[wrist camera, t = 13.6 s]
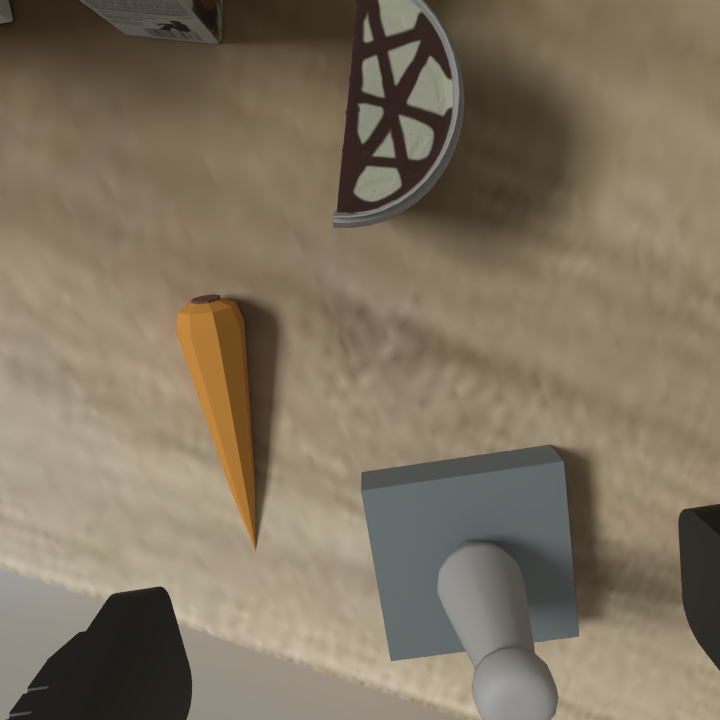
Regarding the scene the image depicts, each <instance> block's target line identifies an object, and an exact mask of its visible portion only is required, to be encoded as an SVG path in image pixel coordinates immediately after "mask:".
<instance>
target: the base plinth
mask: <svg viewBox="0 0 720 720" xmlns="http://www.w3.org/2000/svg"><path fill="white" fill-rule="evenodd" d="M361 492H362V498H363V503H364V509H365V515H366V521H367V526H368V532H369V538H370V544H371V549H372V555H373V561H374V567H375V572H376V578H377V584H378V589H379V595H380V601H381V607H382V612H383V618H384V624H385V630H386V635H387V641H388V647H389V653H390V658H391V661H395V660H403V659H411V658H418V657H426V656H434V655H441V654H449V653H456V652H464V651H465V649H464V647H463V645H462V643H461V641H460V639H459V637H458V635H457V633H456V631H455V629H454V627H453V625H452V623H451V621H450V619H449V617H448V615H447V613H446V611H445V609H444V608H443V605H442V602H441V600H440V597H439V594H438V592H437V587H438V577H439V569H440V568H441V566H442V564H443V562H444V560H445V559H446V557H447V556H448V555H449V554H450V553H451V552H452V551H453V550H454V549H455V548H457V547H458V546H459V545H460V544H461V543H462V542H463V541H464V540H470V541H483V542H491V543H493V544H495V545H496V546H498V547H500V548H502V549H503V550H504V551H505V552H506V553H507V554H509V555H510V556H511V557H512V558H513V559H514V560H515V561H516V562H517V564H518V566H519V569H520V571H521V574H522V577H523V579H524V584H525V591H526V597H527V604H528V610H529V617H530V624H531V630H532V637H533V642H540V641H548V640H556V639H563V638H571V637H578V636H579V629H578V617H577V606H576V594H575V583H574V571H573V560H572V548H571V537H570V525H569V514H568V502H567V491H566V479H565V468H564V461H563V460H562V458H561V457H560V456H559V455H558V453H557V452H556V451H555V450H554V448H553V447H552V446H551V445H546V446H539V447H533V448H526V449H519V450H512V451H505V452H498V453H491V454H485V455H478V456H471V457H464V458H457V459H450V460H443V461H437V462H430V463H423V464H416V465H409V466H402V467H396V468H389V469H382V470H375V471H368V472H362V474H361Z"/></svg>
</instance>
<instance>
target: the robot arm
mask: <svg viewBox="0 0 720 720" xmlns="http://www.w3.org/2000/svg"><path fill="white" fill-rule="evenodd" d="M679 545H680V563H681V581H682V598H683V605H684V610H685V614H686V617H687V620H688V623H689V625H690V628H691V630H692V632H693V634H694V636H695V638H696V640H697V641H698V643H699V644H700V646H701V647H702V648H703V650H704V651H705V652H706V654H707V655H708V656H709V657H710V659H711V660H712V661H713V663H714V664H715V665H716V666H717V668H718V669H719V670H720V504H716V505H710V506H703V507H696V508H690V509H684V510H683V511H682V512H681V513H680V516H679ZM191 697H192V677H191V671H190V666H189V662H188V659H187V656H186V652H185V648H184V645H183V641H182V638H181V634H180V631H179V627H178V624H177V620H176V617H175V613H174V610H173V606H172V603H171V599H170V596H169V594H168V592H167V591H166V590H165V589H164V588H163V587H154V588H147V589H140V590H134V591H127V592H120V593H115V594H112V595H111V596H110V597H109V598H108V599H107V601H106V602H105V604H104V605H103V607H102V608H101V610H100V611H99V613H98V614H97V616H96V617H95V619H94V620H93V622H92V623H91V625H90V626H89V627H88V629H87V631H84V632H79V633H78V634H77V635H75V636H74V637H73V638H72V639H71V640H70V641H68V642H67V643H66V644H65V645H64V646H63V647H62V648H60V649H59V650H58V651H57V652H56V653H55V654H53V655H52V656H51V657H50V658H49V659H48V660H47V662H46V663H45V665H44V666H43V667H42V669H41V670H40V671H39V673H38V674H37V675H36V677H35V678H34V680H33V681H32V682H31V684H30V685H29V687H28V692H27V694H23V695H22V696H21V698H20V699H19V701H18V702H17V703H16V705H15V706H14V707H13V709H12V710H11V712H10V713H9V714H10V716H9V719H7V720H186V719H187V716H188V713H189V709H190V705H191Z"/></svg>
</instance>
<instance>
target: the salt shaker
mask: <svg viewBox="0 0 720 720" xmlns="http://www.w3.org/2000/svg"><path fill="white" fill-rule="evenodd" d="M437 592H438V594H439V597H440V600H441V602H442V605H443V608H444V609H445V611H446V613H447V615H448V617H449V619H450V621H451V623H452V625H453V627H454V629H455V631H456V633H457V635H458V637H459V639H460V641H461V643H462V645H463V647H464V649H465V651H466V652H467V654H468V656H469V658H470V660H471V662H472V664H473V666H474V668H475V670H474V675H473V683H472V693H473V699H474V701H475V704H476V706H477V709H478V711H479V714H480V716H481V718H482V720H551V718H552V717H553V716H554V715H555V713H556V708H557V703H558V693H557V688H556V685H555V682H554V680H553V677H552V675H551V672H550V670H549V668H548V666H547V664H546V663H545V662H544V661H543V660H542V659H540V658H539V657H538V656H537V655H536V654H535V650H534V643H533V637H532V630H531V624H530V617H529V610H528V604H527V597H526V591H525V584H524V579H523V577H522V574H521V571H520V569H519V566H518V564H517V562H516V561H515V560H514V559H513V558H512V557H511V556H510V555H509V554H507V553H506V552H505V551H504V550H503V549H502V548H500V547H498V546H496V545H495V544H493V543H491V542H483V541H470V540H464V541H463V542H462V543H461V544H460V545H459V546H458V547H457V548H455V549H454V550H453V551H452V552H451V553H450V554H449V555H448V556H447V557H446V559H445V560H444V562H443V564H442V566H441V568H440V569H439V577H438V587H437Z"/></svg>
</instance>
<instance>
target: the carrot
mask: <svg viewBox="0 0 720 720" xmlns="http://www.w3.org/2000/svg"><path fill="white" fill-rule="evenodd" d="M177 336H178V338H179V341H180V344H181V347H182V350H183V353H184V356H185V359H186V362H187V365H188V367H189V370H190V373H191V376H192V379H193V382H194V385H195V388H196V391H197V394H198V396H199V399H200V402H201V405H202V408H203V411H204V414H205V417H206V420H207V423H208V426H209V428H210V431H211V434H212V437H213V440H214V443H215V446H216V449H217V452H218V455H219V457H220V460H221V463H222V466H223V469H224V472H225V475H226V478H227V481H228V484H229V486H230V489H231V492H232V494H233V497H234V499H235V502H236V504H237V506H238V509H239V511H240V514H241V516H242V519H243V521H244V523H245V526H246V528H247V531H248V533H249V535H250V538H251V540H252V543H253V545H254V548H255V550H256V523H255V474H254V459H253V444H252V429H251V414H250V399H249V384H248V369H247V354H246V339H245V324H244V319H243V317H242V314H241V312H240V310H239V308H238V306H237V303H236V301H232V300H227V299H223V298H220V295H205V296H200V297H197V298H194V299H193V300H191V303H190V304H188V305H186V306H185V307H183V308H182V309H181V310H180V311H179V312H178V325H177Z"/></svg>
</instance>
